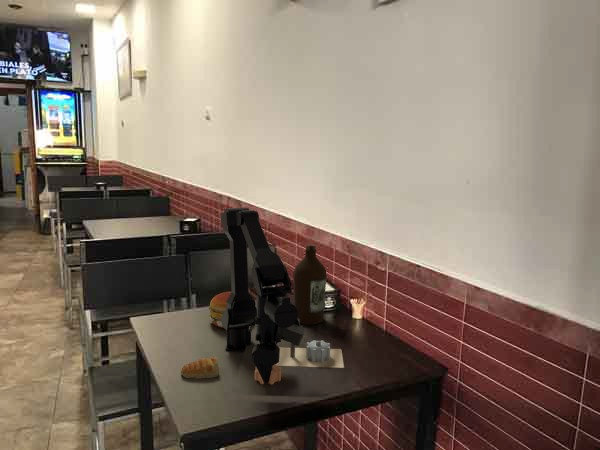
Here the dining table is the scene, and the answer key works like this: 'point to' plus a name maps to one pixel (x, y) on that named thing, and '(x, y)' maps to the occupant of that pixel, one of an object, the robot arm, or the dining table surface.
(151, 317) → the dining table surface
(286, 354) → the gear board
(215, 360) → the pastry
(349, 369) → the dining table surface
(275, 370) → the gear
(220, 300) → the burger
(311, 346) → the gear
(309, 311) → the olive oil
